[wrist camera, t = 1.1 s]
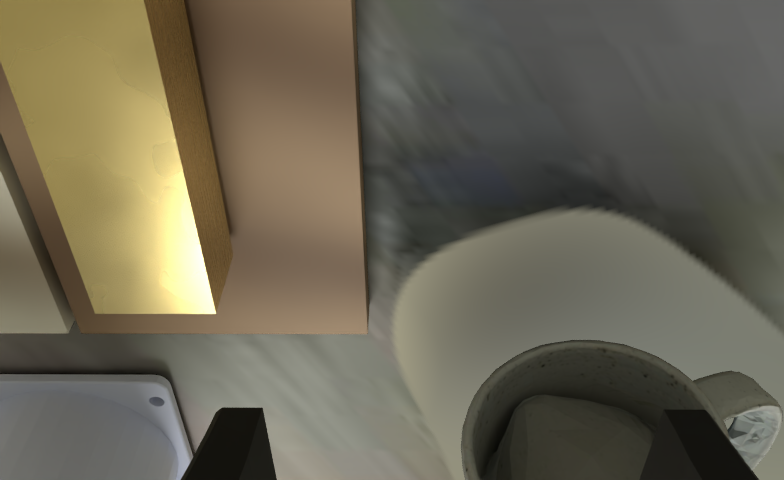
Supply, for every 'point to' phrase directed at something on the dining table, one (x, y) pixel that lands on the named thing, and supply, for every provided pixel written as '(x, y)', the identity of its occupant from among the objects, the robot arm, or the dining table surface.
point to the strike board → (229, 184)
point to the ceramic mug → (599, 413)
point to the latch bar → (122, 147)
